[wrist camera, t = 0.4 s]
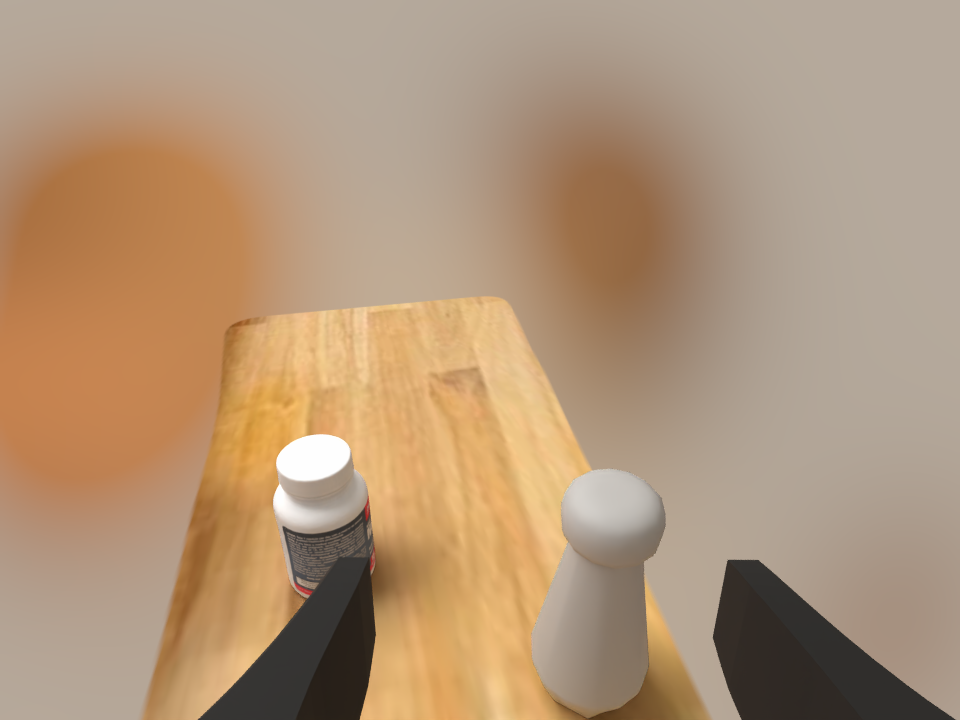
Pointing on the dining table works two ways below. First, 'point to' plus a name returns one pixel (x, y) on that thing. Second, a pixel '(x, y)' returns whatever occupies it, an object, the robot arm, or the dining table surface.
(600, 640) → the salt shaker
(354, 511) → the pill bottle
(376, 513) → the dining table surface
